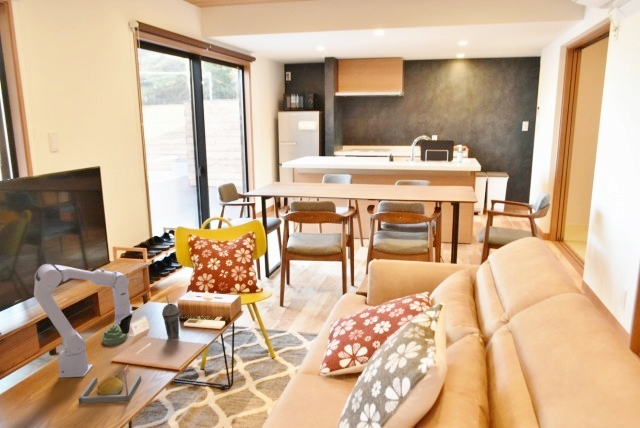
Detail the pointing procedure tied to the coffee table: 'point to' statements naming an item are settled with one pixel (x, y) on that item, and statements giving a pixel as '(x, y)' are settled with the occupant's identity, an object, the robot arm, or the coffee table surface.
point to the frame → (109, 398)
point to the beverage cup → (171, 320)
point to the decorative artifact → (113, 336)
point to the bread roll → (110, 386)
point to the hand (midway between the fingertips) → (125, 333)
